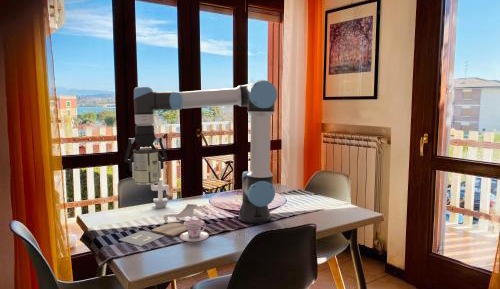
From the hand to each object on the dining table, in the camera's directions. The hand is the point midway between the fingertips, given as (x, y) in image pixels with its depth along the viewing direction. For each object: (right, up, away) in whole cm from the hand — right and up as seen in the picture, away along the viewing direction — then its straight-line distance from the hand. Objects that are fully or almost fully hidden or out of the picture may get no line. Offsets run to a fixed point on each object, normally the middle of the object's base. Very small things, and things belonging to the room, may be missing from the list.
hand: (147, 177), depth 155 cm
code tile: (-1, -24, -4) cm, 25 cm away
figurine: (-5, -20, +44) cm, 48 cm away
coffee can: (0, -2, 0) cm, 2 cm away
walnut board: (+10, -23, +6) cm, 26 cm away
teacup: (+20, -25, -2) cm, 32 cm away
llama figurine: (+13, -22, +20) cm, 33 cm away
